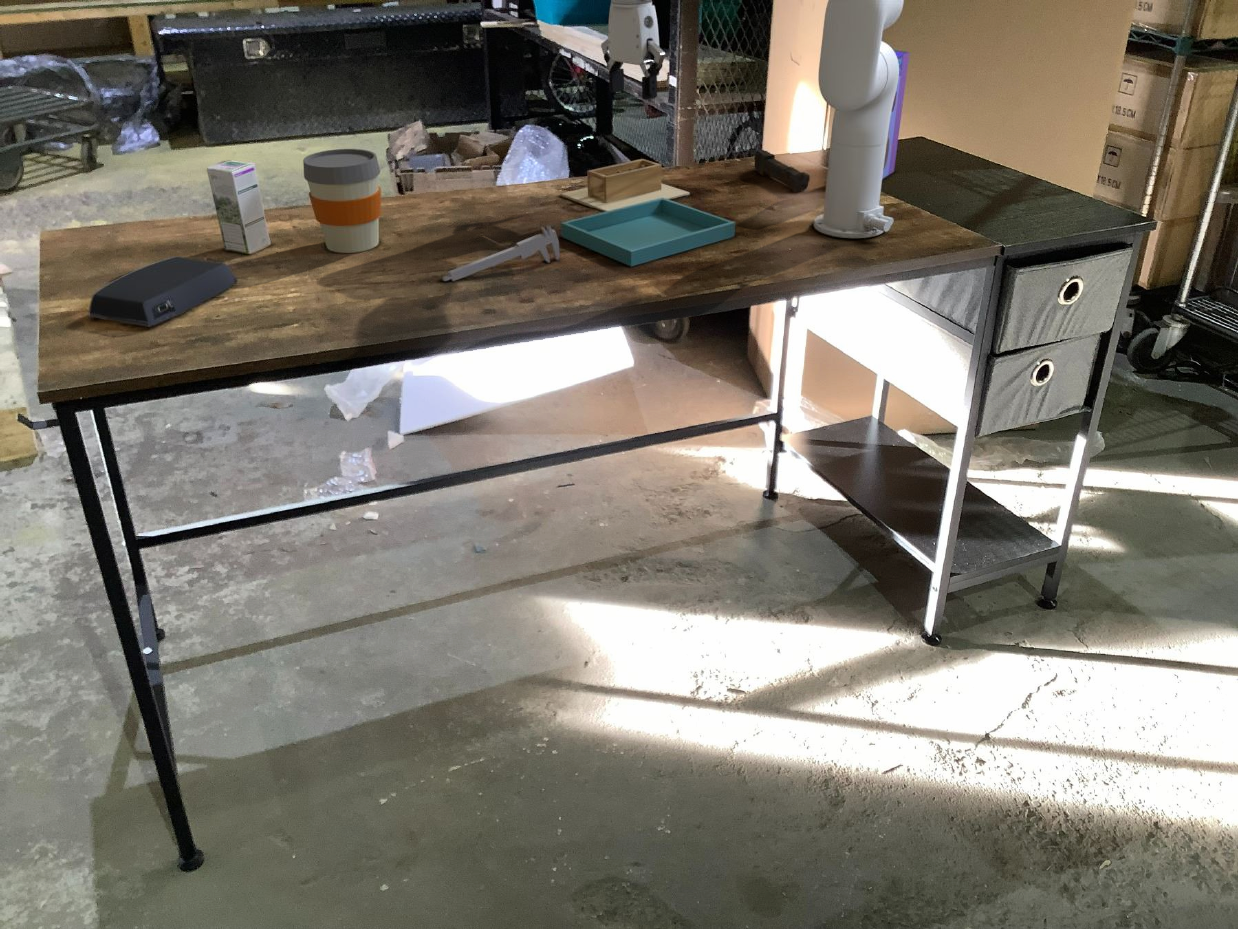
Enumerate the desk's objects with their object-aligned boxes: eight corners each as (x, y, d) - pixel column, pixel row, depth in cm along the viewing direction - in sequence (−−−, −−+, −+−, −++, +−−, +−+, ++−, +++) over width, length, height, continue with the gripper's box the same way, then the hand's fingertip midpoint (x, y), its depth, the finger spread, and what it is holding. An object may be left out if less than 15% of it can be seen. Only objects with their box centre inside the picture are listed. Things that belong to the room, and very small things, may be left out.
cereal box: (863, 192, 203) (877, 64, 190) (840, 188, 205) (853, 62, 193) (893, 171, 215) (909, 50, 203) (872, 168, 217) (886, 48, 205)
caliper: (557, 259, 171) (555, 222, 168) (559, 261, 170) (558, 224, 167) (442, 280, 163) (438, 242, 160) (444, 283, 162) (440, 245, 159)
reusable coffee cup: (403, 243, 179) (393, 156, 171) (342, 261, 171) (328, 171, 163) (361, 227, 186) (350, 144, 178) (301, 245, 178) (286, 158, 171)
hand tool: (809, 191, 203) (811, 168, 201) (791, 193, 202) (793, 170, 200) (766, 168, 219) (768, 146, 216) (749, 170, 218) (751, 147, 215)
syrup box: (272, 244, 179) (256, 161, 171) (248, 255, 174) (231, 170, 167) (247, 240, 181) (230, 158, 173) (223, 251, 176) (204, 166, 169)
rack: (661, 189, 204) (661, 164, 201) (606, 203, 196) (606, 177, 194) (642, 183, 208) (642, 158, 205) (587, 196, 200) (587, 170, 198)
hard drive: (85, 318, 151) (77, 292, 149) (178, 274, 166) (172, 250, 164) (154, 331, 147) (147, 304, 145) (242, 285, 162) (237, 260, 160)
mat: (689, 194, 202) (689, 192, 202) (610, 214, 192) (610, 212, 191) (638, 177, 213) (638, 175, 213) (560, 195, 203) (560, 193, 202)
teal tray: (734, 237, 180) (735, 222, 179) (631, 267, 168) (631, 251, 166) (662, 211, 193) (662, 197, 192) (561, 237, 181) (560, 222, 179)
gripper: (678, -2, 181) (678, 98, 190) (617, -9, 193) (619, 86, 202) (646, 2, 177) (647, 104, 186) (586, -5, 189) (589, 91, 198)
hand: (632, 94), depth 194 cm, fingers open, 9 cm apart
